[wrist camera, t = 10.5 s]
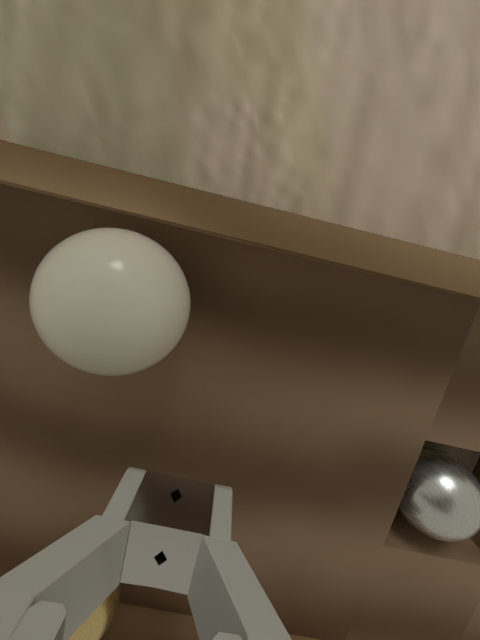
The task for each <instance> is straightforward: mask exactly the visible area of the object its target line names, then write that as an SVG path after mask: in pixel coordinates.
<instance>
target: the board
mask: <svg viewBox="0 0 480 640" xmlns="http://www.w3.org/2000/svg"><path fill="white" fill-rule="evenodd" d="M95 228H120V229H126V230H131V231H134V232H137V233H140V234H142V235H144V236H146V237H148V238H150V239H152V240H154V241H155V242H157V243H158V244H160V245H161V246H162V247H163V248H165V249H166V250H167V251H168V252H169V253H170V254H171V255H172V256H173V257H174V259H175V260H176V262H177V263H178V264H179V266H180V268H181V269H182V271H183V273H184V275H185V278H186V280H187V283H188V287H189V291H190V299H191V309H190V316H189V320H188V324H187V327H186V329H185V331H184V334H183V336H182V337H181V339H180V341H179V342H178V344H177V345H176V346H175V348H174V349H173V350H172V351H171V352H170V353H169V354H168V355H167V356H166V357H165V358H163V359H162V360H161V361H159V362H158V363H156V364H155V365H153V366H151V367H149V368H147V369H145V370H142V371H139V372H136V373H132V374H128V375H119V376H103V375H97V374H91V373H88V372H84V371H81V370H79V369H76V368H74V367H72V366H70V365H69V364H67V363H65V362H64V361H62V360H61V359H60V358H58V357H57V356H56V355H55V354H54V353H52V352H51V351H50V350H49V349H48V347H47V346H46V345H45V344H44V343H43V341H42V340H41V338H40V337H39V335H38V333H37V331H36V329H35V327H34V324H33V321H32V318H31V314H30V306H29V294H30V288H31V282H32V279H33V276H34V273H35V271H36V269H37V267H38V265H39V264H40V263H41V261H42V260H43V258H44V257H45V256H46V255H47V254H48V252H49V251H50V250H51V249H52V248H53V247H55V246H56V245H57V244H58V243H60V242H61V241H63V240H65V239H67V238H68V237H70V236H72V235H74V234H77V233H79V232H82V231H86V230H90V229H95ZM425 440H427V441H431V442H436V443H440V444H445V445H449V446H454V447H458V448H463V449H467V450H472V451H477V452H480V260H476V259H472V258H468V257H464V256H460V255H456V254H452V253H448V252H444V251H440V250H436V249H432V248H428V247H424V246H420V245H416V244H412V243H408V242H404V241H400V240H397V239H393V238H389V237H385V236H381V235H377V234H373V233H369V232H365V231H361V230H357V229H353V228H349V227H345V226H341V225H337V224H333V223H329V222H325V221H321V220H317V219H313V218H309V217H305V216H301V215H297V214H293V213H289V212H285V211H281V210H277V209H273V208H269V207H265V206H261V205H257V204H253V203H249V202H245V201H241V200H237V199H233V198H229V197H225V196H221V195H217V194H213V193H209V192H205V191H201V190H197V189H193V188H189V187H185V186H181V185H177V184H173V183H169V182H165V181H161V180H158V179H154V178H150V177H146V176H142V175H138V174H134V173H130V172H126V171H122V170H118V169H114V168H110V167H106V166H102V165H98V164H94V163H90V162H86V161H82V160H78V159H74V158H70V157H66V156H62V155H58V154H54V153H50V152H46V151H42V150H38V149H34V148H30V147H26V146H22V145H18V144H14V143H10V142H6V141H2V140H0V577H2V576H3V575H5V574H6V573H8V572H9V571H11V570H12V569H14V568H15V567H17V566H18V565H20V564H22V563H23V562H25V561H26V560H28V559H29V558H31V557H32V556H34V555H35V554H37V553H38V552H40V551H41V550H43V549H44V548H46V547H48V546H49V545H51V544H52V543H54V542H55V541H57V540H58V539H60V538H61V537H63V536H64V535H66V534H67V533H69V532H70V531H72V530H74V529H75V528H77V527H78V526H80V525H81V524H83V523H84V522H86V521H87V520H89V519H90V518H92V517H93V516H95V515H100V516H102V515H103V513H104V511H105V509H106V507H107V505H108V504H109V502H110V500H111V498H112V496H113V494H114V492H115V490H116V489H117V487H118V485H119V483H120V481H121V479H122V477H123V476H124V474H125V472H126V470H127V469H128V468H129V467H134V468H138V469H142V470H146V471H147V470H148V471H153V472H157V473H162V474H166V475H170V476H175V477H179V478H184V479H189V480H194V481H200V482H205V483H210V484H214V485H215V484H217V485H222V486H228V487H232V490H233V495H232V527H231V541H234V542H237V544H238V545H239V547H240V549H241V551H242V552H243V554H244V556H245V558H246V559H247V561H248V563H249V565H250V567H251V568H252V570H253V572H254V574H255V575H256V577H257V579H258V581H259V582H260V584H261V586H262V588H263V590H264V591H265V593H266V595H267V597H268V598H269V600H270V602H271V604H272V606H273V607H274V609H275V611H276V613H277V614H278V616H279V618H280V620H281V621H282V623H283V625H284V627H285V629H286V630H287V632H288V634H289V636H290V637H291V639H292V640H480V530H479V531H478V532H477V533H476V534H475V535H474V536H472V537H470V538H469V539H466V540H463V541H457V542H448V541H441V540H438V539H435V538H432V537H430V536H428V535H426V534H424V533H422V532H421V531H419V530H418V529H416V528H415V527H414V526H413V525H412V524H411V523H410V522H408V520H407V519H406V518H405V517H404V516H403V514H402V513H401V512H400V510H399V509H398V508H399V505H400V503H401V500H402V498H403V495H404V493H405V490H406V488H407V485H408V483H409V480H410V478H411V475H412V473H413V470H414V468H415V465H416V463H417V460H418V458H419V455H420V453H421V450H422V448H423V445H424V443H425ZM473 474H474V476H475V477H476V478H477V480H478V481H479V483H480V459H479V461H478V463H477V466H476V468H475V470H474V472H473ZM154 587H155V586H154ZM154 587H148V586H141V585H134V584H127V583H120V597H119V603H118V606H117V609H116V613H115V615H114V617H113V620H112V622H111V624H110V626H109V627H108V629H107V630H106V632H105V633H104V635H103V636H102V638H101V639H100V640H199V637H198V633H197V629H196V626H195V622H194V619H193V615H192V612H191V608H190V604H189V601H188V595H186V594H182V593H177V592H172V591H168V590H163V589H159V588H154Z"/></svg>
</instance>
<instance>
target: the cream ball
mask: <svg viewBox="0 0 480 640" xmlns="http://www.w3.org/2000/svg"><path fill="white" fill-rule="evenodd" d="M29 306H30V314H31V318H32V321H33V324H34V327H35V329H36V331H37V333H38V335H39V337H40V338H41V340H42V341H43V343H44V344H45V345H46V346H47V347H48V349H49V350H50V351H51V352H52V353H54V354H55V355H56V356H57V357H58V358H60V359H61V360H62V361H64V362H65V363H67V364H69V365H70V366H72V367H74V368H76V369H79V370H81V371H84V372H88V373H91V374H97V375H103V376H119V375H128V374H132V373H136V372H139V371H142V370H145V369H147V368H149V367H151V366H153V365H155V364H156V363H158V362H159V361H161V360H162V359H163V358H165V357H166V356H167V355H168V354H169V353H170V352H171V351H172V350H173V349H174V348H175V346H176V345H177V344H178V342H179V341H180V339H181V337H182V336H183V334H184V331H185V329H186V327H187V324H188V320H189V316H190V309H191V299H190V291H189V287H188V283H187V280H186V278H185V275H184V273H183V271H182V269H181V268H180V266H179V264H178V263H177V262H176V260H175V259H174V257H173V256H172V255H171V254H170V253H169V252H168V251H167V250H166V249H165V248H163V247H162V246H161V245H160V244H158V243H157V242H155V241H154V240H152V239H150V238H148V237H146V236H144V235H142V234H140V233H137V232H134V231H131V230H126V229H120V228H95V229H90V230H86V231H82V232H79V233H77V234H74V235H72V236H70V237H68V238H67V239H65V240H63V241H61V242H60V243H58V244H57V245H56V246H55V247H53V248H52V249H51V250H50V251H49V252H48V254H47V255H46V256H45V257H44V258H43V260H42V261H41V263H40V264H39V265H38V267H37V269H36V271H35V273H34V276H33V279H32V282H31V288H30V294H29Z"/></svg>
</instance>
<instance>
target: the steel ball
mask: <svg viewBox="0 0 480 640" xmlns="http://www.w3.org/2000/svg"><path fill="white" fill-rule="evenodd" d="M398 509H399V510H400V512H401V513H402V514H403V516H404V517H405V518H406V519H407V520H408V522H410V523H411V524H412V525H413V526H414V527H415V528H416V529H418V530H419V531H421V532H422V533H424V534H426V535H428V536H430V537H432V538H435V539H438V540H441V541H448V542H457V541H463V540H466V539H469V538H470V537H472V536H474V535H475V534H476V533H477V532H478V531H479V530H480V483H479V481H478V480H477V478H476V477H475V476H474V474H473V473H472V472H471V471H470V470H469V469H468V468H467V467H466V466H465V465H464V464H463V463H461V462H460V461H459V460H457V459H456V458H454V457H452V456H450V455H448V454H446V453H444V452H441V451H437V450H432V449H422V450H421V453H420V455H419V458H418V460H417V463H416V465H415V468H414V470H413V473H412V475H411V478H410V480H409V483H408V485H407V488H406V490H405V493H404V495H403V498H402V500H401V503H400V505H399V508H398Z"/></svg>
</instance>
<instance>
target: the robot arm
mask: <svg viewBox="0 0 480 640" xmlns="http://www.w3.org/2000/svg"><path fill="white" fill-rule="evenodd" d="M232 495H233V490H232V487H228V486H222V485H217V484H215V485H214V484H210V483H205V482H200V481H194V480H189V479H184V478H179V477H175V476H170V475H166V474H162V473H157V472H153V471H148V470H147V471H146V470H142V469H138V468H134V467H129V468H128V469H127V470H126V472H125V474H124V476H123V477H122V479H121V481H120V483H119V485H118V487H117V489H116V490H115V492H114V494H113V496H112V498H111V500H110V502H109V504H108V505H107V507H106V509H105V511H104V513H103V515H102V516H100V515H95V516H93V517H92V518H90V519H89V520H87V521H86V522H84V523H83V524H81V525H80V526H78V527H77V528H75V529H74V530H72V531H70V532H69V533H67V534H66V535H64V536H63V537H61V538H60V539H58V540H57V541H55V542H54V543H52V544H51V545H49V546H48V547H46V548H44V549H43V550H41V551H40V552H38V553H37V554H35V555H34V556H32V557H31V558H29V559H28V560H26V561H25V562H23V563H22V564H20V565H18V566H17V567H15V568H14V569H12V570H11V571H9V572H8V573H6V574H5V575H3V576H2V577H0V640H68V639H69V638H70V637H71V636H72V635H73V633H74V632H75V631H76V630H77V629H78V628H79V627H80V626H81V625H82V624H83V623H84V622H85V621H86V620H87V618H88V617H89V616H90V615H91V614H92V613H93V612H94V611H95V610H96V609H97V608H98V607H99V606H100V605H101V604H102V602H103V601H104V600H105V599H106V598H107V597H108V596H109V595H110V594H111V593H112V592H113V591H114V590H115V589H116V588H117V586H118V585H119V582H120V583H127V584H134V585H141V586H148V587H154V586H155V587H154V588H159V589H163V590H168V591H172V592H177V593H182V594H186V595H188V601H189V604H190V608H191V612H192V615H193V619H194V622H195V626H196V629H197V633H198V637H199V640H292V639H291V637H290V636H289V634H288V632H287V630H286V629H285V627H284V625H283V623H282V621H281V620H280V618H279V616H278V614H277V613H276V611H275V609H274V607H273V606H272V604H271V602H270V600H269V598H268V597H267V595H266V593H265V591H264V590H263V588H262V586H261V584H260V582H259V581H258V579H257V577H256V575H255V574H254V572H253V570H252V568H251V567H250V565H249V563H248V561H247V559H246V558H245V556H244V554H243V552H242V551H241V549H240V547H239V545H238V544H237V542H234V541H231V527H232Z"/></svg>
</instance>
